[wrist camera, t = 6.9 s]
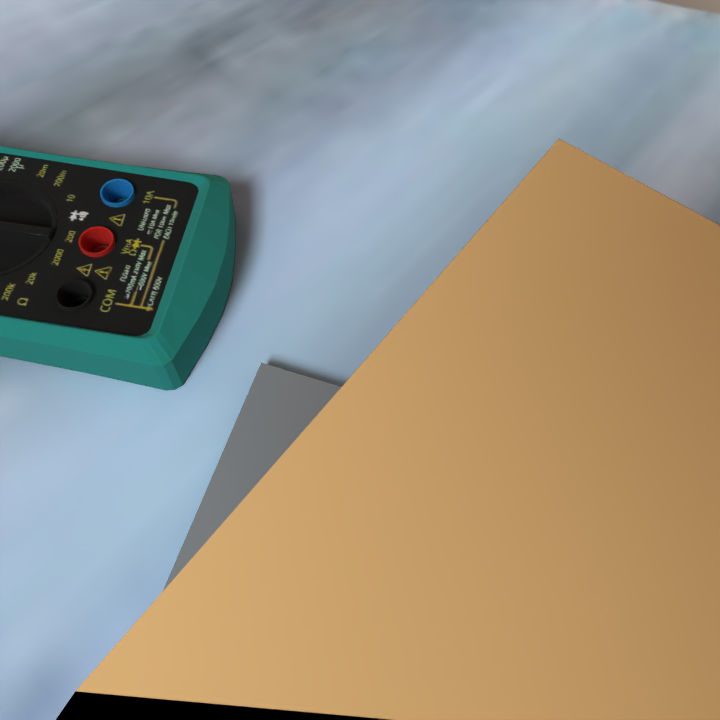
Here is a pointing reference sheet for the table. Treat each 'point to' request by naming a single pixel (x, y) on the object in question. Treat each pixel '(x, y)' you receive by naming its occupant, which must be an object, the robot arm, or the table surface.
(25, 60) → the table surface
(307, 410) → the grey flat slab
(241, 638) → the tan pillar on disc
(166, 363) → the digital multimeter
